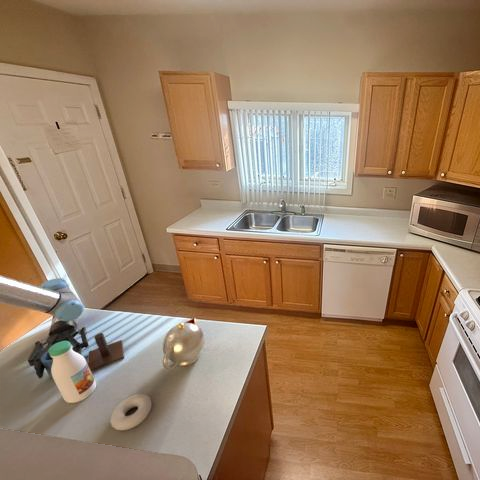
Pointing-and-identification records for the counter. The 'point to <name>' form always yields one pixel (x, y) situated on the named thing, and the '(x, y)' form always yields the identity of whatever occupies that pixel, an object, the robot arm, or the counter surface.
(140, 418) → the donut
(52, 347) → the milk bottle
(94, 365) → the post stand
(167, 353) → the teapot
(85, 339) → the robot arm
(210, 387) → the counter surface
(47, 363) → the ring sleeve
